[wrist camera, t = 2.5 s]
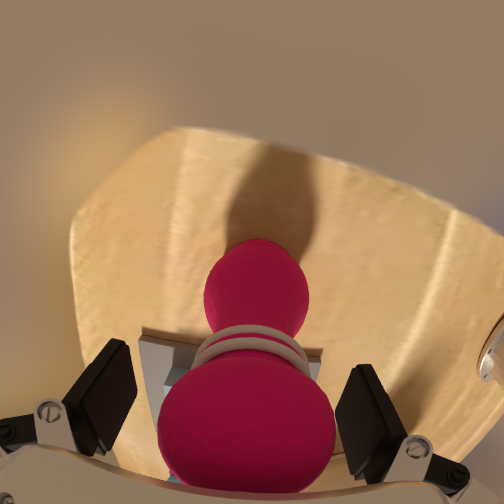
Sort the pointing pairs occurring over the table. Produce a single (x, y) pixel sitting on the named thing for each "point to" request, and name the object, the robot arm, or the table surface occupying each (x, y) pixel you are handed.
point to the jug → (335, 476)
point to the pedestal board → (175, 367)
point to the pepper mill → (249, 384)
